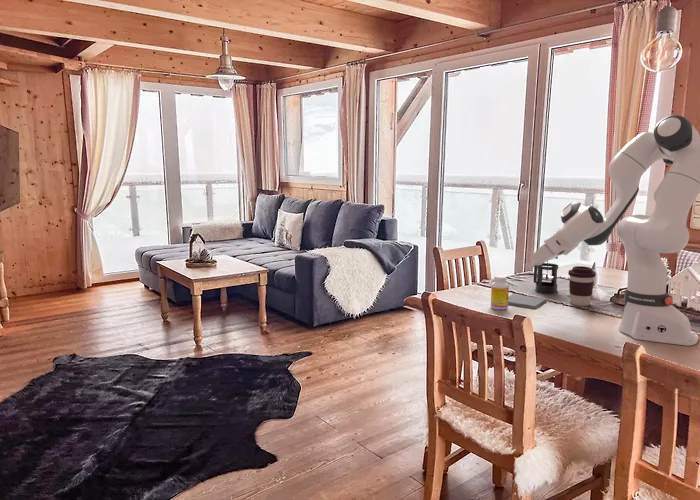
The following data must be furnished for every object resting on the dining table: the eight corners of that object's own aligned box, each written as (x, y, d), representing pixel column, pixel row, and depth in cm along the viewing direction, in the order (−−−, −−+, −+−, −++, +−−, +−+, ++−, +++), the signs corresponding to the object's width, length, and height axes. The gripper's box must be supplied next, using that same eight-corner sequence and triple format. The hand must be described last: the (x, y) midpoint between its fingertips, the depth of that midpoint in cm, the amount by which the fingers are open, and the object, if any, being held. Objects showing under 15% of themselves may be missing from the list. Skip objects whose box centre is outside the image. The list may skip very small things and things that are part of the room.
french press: (563, 292, 221) (566, 240, 217) (549, 295, 216) (552, 242, 212) (541, 287, 231) (543, 237, 227) (527, 289, 226) (529, 239, 222)
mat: (546, 301, 206) (546, 298, 206) (535, 309, 196) (535, 306, 196) (512, 296, 215) (513, 293, 215) (500, 303, 205) (501, 300, 205)
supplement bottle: (508, 310, 195) (510, 278, 193) (491, 309, 196) (492, 278, 194) (507, 305, 201) (508, 274, 199) (490, 305, 203) (491, 274, 201)
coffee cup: (577, 308, 196) (579, 270, 194) (561, 301, 206) (563, 266, 204) (599, 306, 198) (601, 269, 196) (582, 299, 208) (584, 264, 206)
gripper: (565, 233, 190) (538, 255, 198) (545, 239, 175) (517, 263, 183) (577, 246, 188) (549, 268, 196) (557, 253, 173) (528, 276, 181)
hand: (533, 265), depth 189 cm, fingers open, 8 cm apart
